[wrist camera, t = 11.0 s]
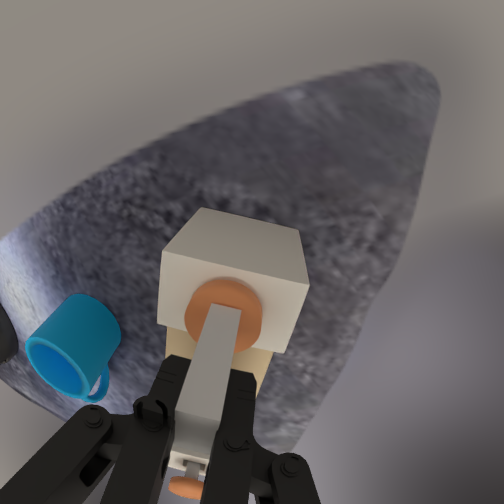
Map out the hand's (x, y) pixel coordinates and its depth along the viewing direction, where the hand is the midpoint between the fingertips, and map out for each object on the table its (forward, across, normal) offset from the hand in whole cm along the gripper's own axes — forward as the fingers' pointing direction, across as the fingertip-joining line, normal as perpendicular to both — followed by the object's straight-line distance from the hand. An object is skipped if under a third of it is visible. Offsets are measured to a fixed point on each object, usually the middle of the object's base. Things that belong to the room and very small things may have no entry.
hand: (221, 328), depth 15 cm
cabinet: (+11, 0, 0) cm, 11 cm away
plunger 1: (+3, 0, -22) cm, 22 cm away
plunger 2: (+5, 0, 0) cm, 5 cm away
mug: (+11, -14, -16) cm, 24 cm away
